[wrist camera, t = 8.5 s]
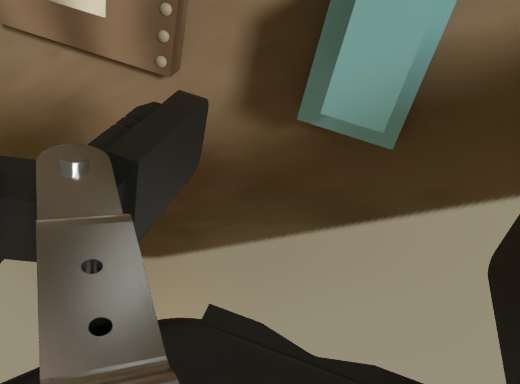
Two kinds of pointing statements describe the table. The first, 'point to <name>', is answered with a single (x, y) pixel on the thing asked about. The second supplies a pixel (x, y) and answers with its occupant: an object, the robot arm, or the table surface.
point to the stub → (372, 65)
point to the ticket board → (108, 28)
